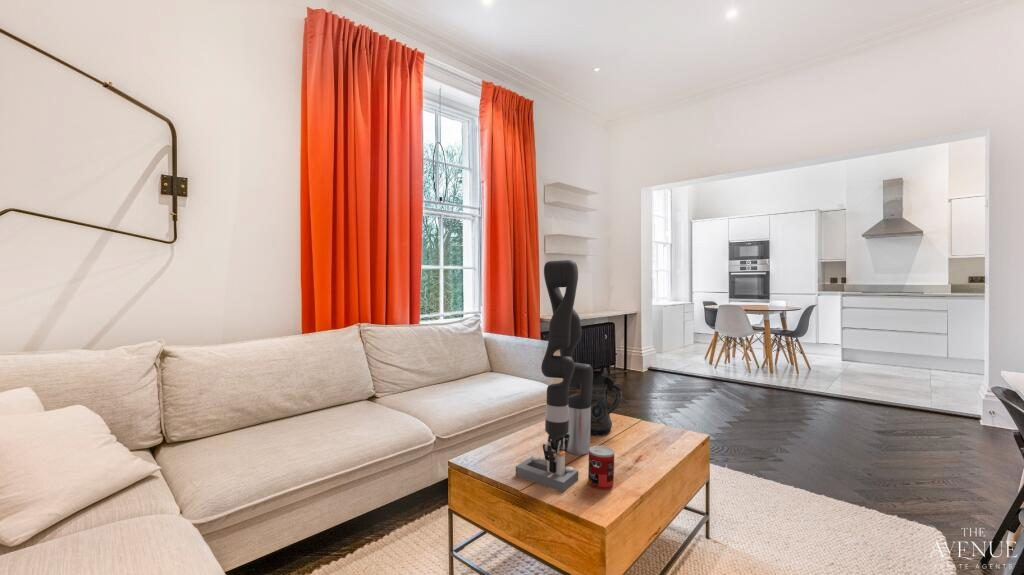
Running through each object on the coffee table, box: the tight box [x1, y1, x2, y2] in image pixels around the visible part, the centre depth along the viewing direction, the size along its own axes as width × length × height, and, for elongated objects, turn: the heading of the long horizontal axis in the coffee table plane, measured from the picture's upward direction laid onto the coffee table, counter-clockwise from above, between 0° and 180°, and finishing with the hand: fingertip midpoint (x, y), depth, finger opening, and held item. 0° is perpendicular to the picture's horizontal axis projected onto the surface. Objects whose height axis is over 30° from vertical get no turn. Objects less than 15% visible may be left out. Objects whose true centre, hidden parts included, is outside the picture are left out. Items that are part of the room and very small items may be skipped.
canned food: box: [587, 445, 615, 490], centre depth 138 cm, size 8×8×11 cm
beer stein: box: [590, 370, 623, 437], centre depth 186 cm, size 16×19×25 cm
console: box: [515, 455, 579, 493], centre depth 142 cm, size 10×18×4 cm, turn 54°
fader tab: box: [546, 449, 566, 477], centre depth 139 cm, size 3×5×10 cm, turn 54°
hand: (556, 469), depth 139 cm, fingers open, 3 cm apart
